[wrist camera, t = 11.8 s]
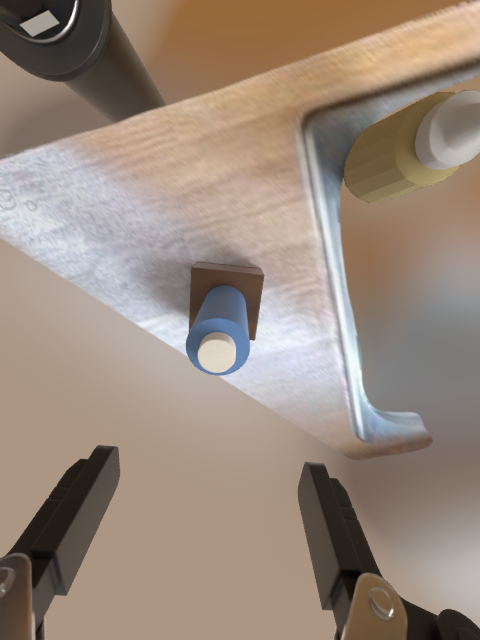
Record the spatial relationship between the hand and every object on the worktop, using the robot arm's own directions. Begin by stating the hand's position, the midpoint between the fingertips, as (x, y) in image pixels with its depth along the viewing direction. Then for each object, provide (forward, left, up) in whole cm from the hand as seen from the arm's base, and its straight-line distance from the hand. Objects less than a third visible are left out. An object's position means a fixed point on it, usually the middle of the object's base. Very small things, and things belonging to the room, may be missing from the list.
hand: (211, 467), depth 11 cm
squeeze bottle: (-18, +15, -28) cm, 37 cm away
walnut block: (0, -1, -28) cm, 28 cm away
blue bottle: (0, -1, -23) cm, 23 cm away
